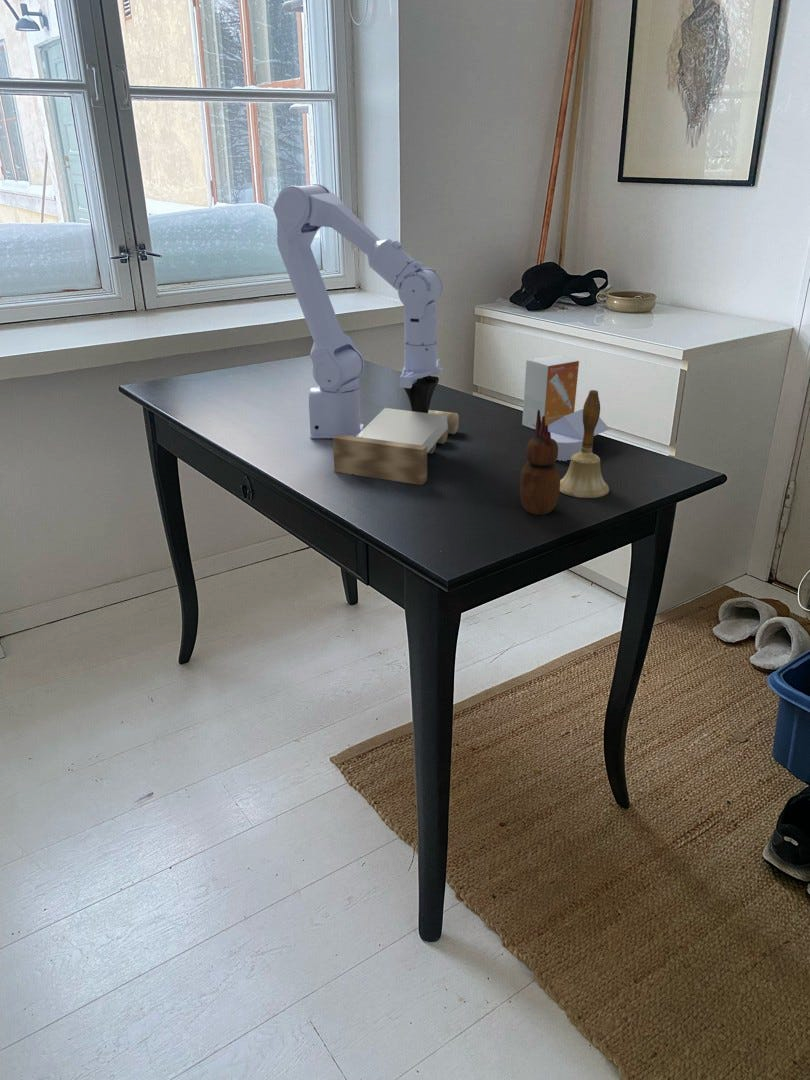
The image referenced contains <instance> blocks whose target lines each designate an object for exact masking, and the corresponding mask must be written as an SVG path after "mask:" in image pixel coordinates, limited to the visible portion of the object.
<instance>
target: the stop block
mask: <svg viewBox="0 0 810 1080" xmlns="http://www.w3.org/2000/svg"><path fill="white" fill-rule="evenodd" d="M332 447H333V448H332V449H333V471H334V472H335V473H339V472H341V474H346V473H347V475H352V474H354V476H360V477H366V478H374V479H380V480H387V481H394V482H400V483H406V484H414V485H420V486H423V485H424V484H426V483H427V481H428V453H427V446H423V445H416V444H408V443H400V442H393V441H385V440H378V439H370V438H362V437H355V436H347V435H340V434H338V435H336V436H335V437H333V438H332Z"/></svg>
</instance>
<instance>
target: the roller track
mask: <svg viewBox="0 0 810 1080" xmlns="http://www.w3.org/2000/svg"><path fill="white" fill-rule="evenodd" d="M428 413H430V414H438V415H446V416H447V430H446V431H445V432H444V433H443V435H442V436H441V437H440V438H439V439H438V441H437V442H436V443H435V444H434V445H433V447H432V448H431V449H430V450H429V451H428V453H427V454H434V452H435V450H436V447H437V444H441V445H443V444H445V443H446V441H447V439H448V435H449V434H451V435H455V434H456V433H457V431H458V429H459V425H460V418H459V414H458V413H457V412H451V411H450V412H449V411H443V410H442V411H441V410H432V409H429V411H428Z"/></svg>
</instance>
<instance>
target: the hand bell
mask: <svg viewBox="0 0 810 1080" xmlns="http://www.w3.org/2000/svg"><path fill="white" fill-rule="evenodd" d="M582 409H583V425H584V436H583V443H582V447H581V451H580V452H579V453H576V454H574V455H573V456H572V458H571V461H569V466H568V469H567V472H566V473H565V475H564V476H563V477H562V478H560V492H559V493H562V494H563V495H566V496H570V497H573V498H580V499H596V498H601V497H604V496H607V494H609V492H610V488H609V485H608V483H606V481H605V480H604V478H603V476H602V472H601V471H602V470H601V458H600V457H599V456H598V455H597V454H595V453H593V447H594V437H595V436H594V430H595V427H596V425H597V423H598V420H599V417H600V414H601V402H600V397H599V391H598V390H595V389H592V390H589V392H588V394H587V397H586V399H585V401H584V405H583V408H582Z"/></svg>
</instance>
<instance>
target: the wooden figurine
mask: <svg viewBox="0 0 810 1080" xmlns="http://www.w3.org/2000/svg"><path fill="white" fill-rule="evenodd" d="M534 430H535V431H534V437H533V438H531V439H530V440H529V441H528V443H527V446H526V451H525V452H526V453H525V457H526V460H527V462H526V463H525V464H524V465H523V467H522V469H521V473H520V479H519V495H520V502H521V506H522V508H523V509H524V510H525V511H526V512H527V513H530V514H532V515H536V516H543V515H547V514H550V513H551V512H553V510H554V509H555V506H556V505H557V502H558V500H559V496H560V493H561V492H560V480H561V476H560V470H559V468H558V467H557V466H556V464H555V462H557V461H556V460H557V458H558V444H557V442H556V441H555V440H554V439H552V438H551V433H550V432H548V425H545V416H543V417H542V421H541V417H540V410H538V412H537V420H536V429H534Z"/></svg>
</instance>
